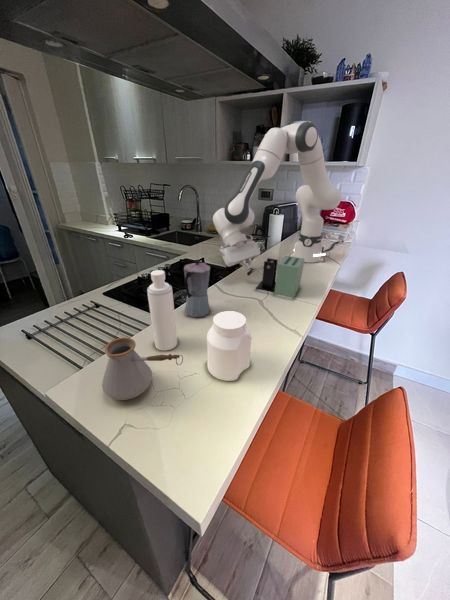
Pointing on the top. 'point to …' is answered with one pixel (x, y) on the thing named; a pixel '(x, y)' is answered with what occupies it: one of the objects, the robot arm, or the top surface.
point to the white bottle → (162, 311)
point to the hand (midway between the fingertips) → (250, 269)
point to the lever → (256, 269)
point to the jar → (228, 346)
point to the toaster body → (289, 276)
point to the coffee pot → (128, 370)
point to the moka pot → (197, 288)
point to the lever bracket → (269, 276)
